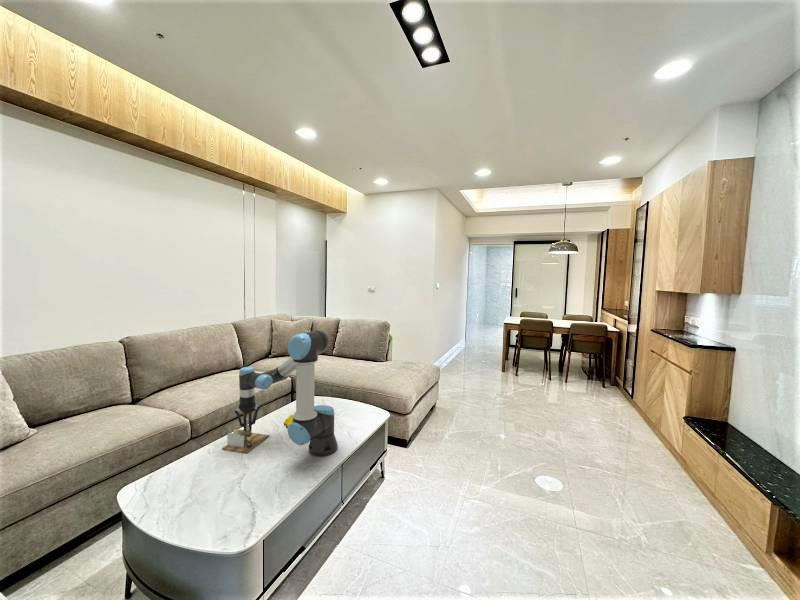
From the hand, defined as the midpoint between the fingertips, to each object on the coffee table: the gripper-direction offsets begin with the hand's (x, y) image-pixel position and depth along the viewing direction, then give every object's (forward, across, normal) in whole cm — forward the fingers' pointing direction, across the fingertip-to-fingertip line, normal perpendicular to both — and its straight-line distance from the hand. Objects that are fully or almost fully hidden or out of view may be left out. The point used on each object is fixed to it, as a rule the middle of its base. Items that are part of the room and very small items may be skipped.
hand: (247, 437), depth 181 cm
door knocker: (+4, -31, -12) cm, 33 cm away
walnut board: (+3, 0, 0) cm, 3 cm away
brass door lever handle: (+2, +3, +3) cm, 5 cm away
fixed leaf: (+2, +4, +4) cm, 6 cm away
